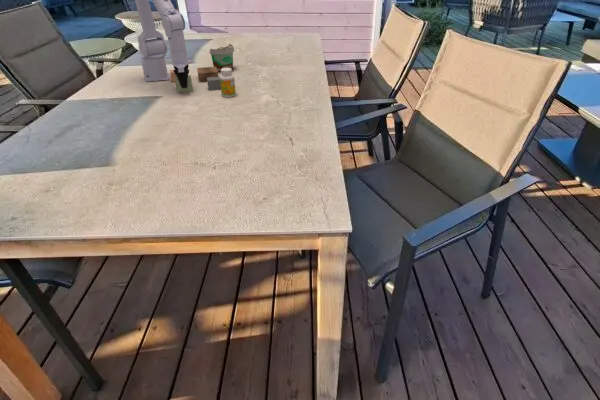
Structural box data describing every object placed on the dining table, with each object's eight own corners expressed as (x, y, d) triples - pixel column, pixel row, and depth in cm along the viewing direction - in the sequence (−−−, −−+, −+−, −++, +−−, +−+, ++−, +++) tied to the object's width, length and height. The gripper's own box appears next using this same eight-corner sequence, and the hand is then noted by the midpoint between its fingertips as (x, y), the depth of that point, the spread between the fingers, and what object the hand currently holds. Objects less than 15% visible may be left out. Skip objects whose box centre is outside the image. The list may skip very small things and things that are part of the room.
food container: (221, 75, 165) (219, 51, 159) (212, 72, 168) (209, 48, 162) (241, 68, 173) (239, 45, 167) (232, 66, 176) (229, 43, 170)
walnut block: (199, 83, 157) (198, 73, 154) (198, 77, 163) (196, 67, 161) (219, 81, 159) (217, 71, 156) (217, 76, 165) (216, 66, 163)
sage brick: (177, 92, 147) (174, 79, 144) (177, 89, 150) (174, 76, 147) (193, 91, 148) (191, 78, 145) (192, 87, 151) (190, 75, 148)
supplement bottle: (218, 95, 144) (215, 70, 138) (227, 91, 148) (224, 66, 142) (230, 98, 142) (227, 72, 136) (238, 94, 146) (236, 68, 140)
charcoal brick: (208, 90, 149) (207, 80, 146) (208, 87, 152) (206, 77, 150) (224, 89, 150) (223, 79, 148) (223, 86, 153) (222, 76, 151)
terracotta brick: (172, 82, 157) (170, 73, 154) (171, 79, 160) (169, 70, 157) (186, 81, 158) (185, 71, 156) (186, 78, 161) (184, 69, 159)
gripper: (189, 53, 135) (195, 91, 143) (188, 44, 147) (193, 79, 155) (169, 55, 134) (176, 92, 142) (169, 45, 145) (176, 80, 153)
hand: (184, 85), depth 148 cm, fingers closed on sage brick, 4 cm apart
